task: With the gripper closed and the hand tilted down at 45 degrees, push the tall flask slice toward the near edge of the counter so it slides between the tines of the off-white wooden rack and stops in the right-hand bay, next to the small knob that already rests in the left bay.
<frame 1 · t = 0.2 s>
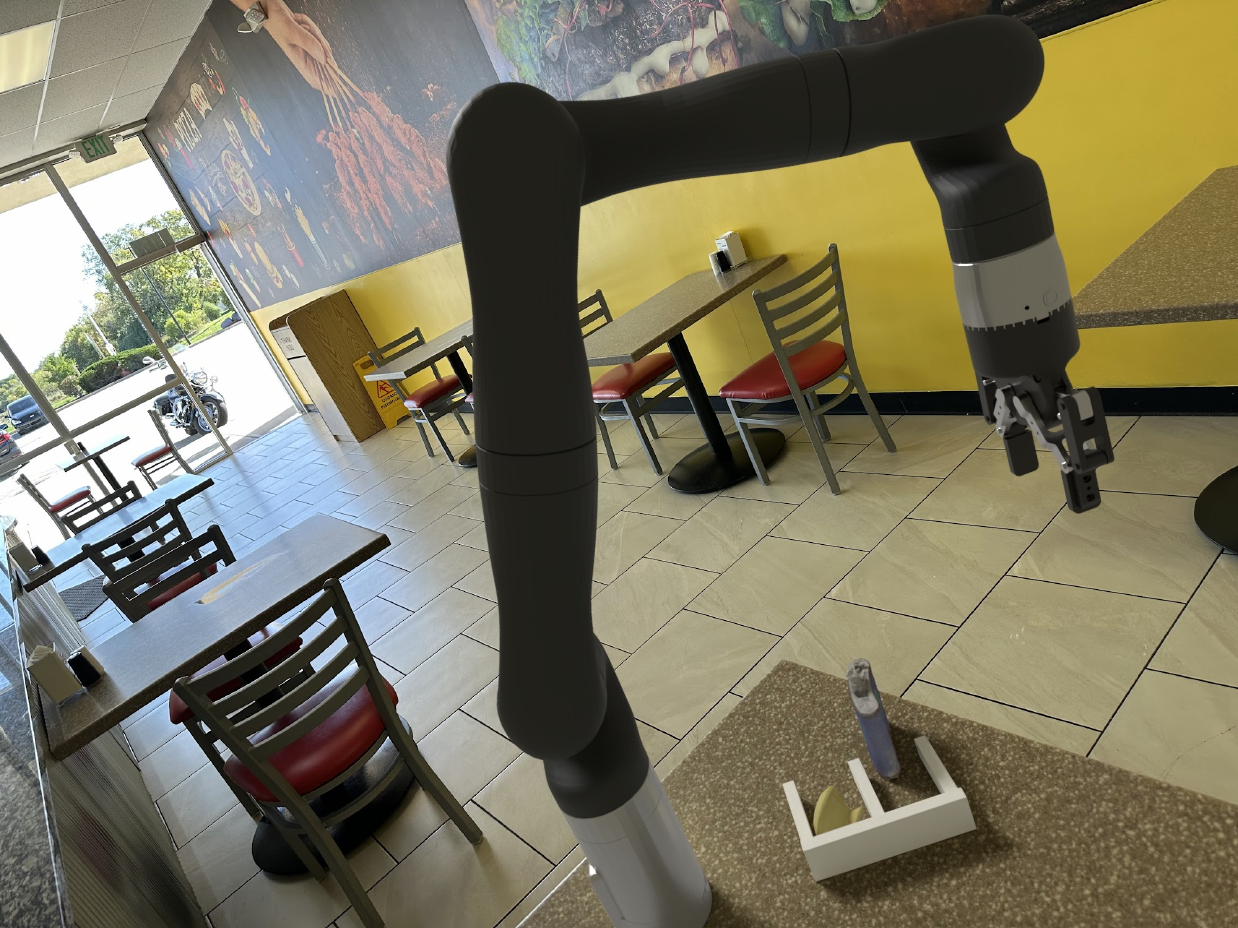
hand: (1053, 489, 65), 29 cm above the table, tool pointing down, fingers open, 8 cm apart
rack: (886, 836, 76), on the table
knob: (845, 834, 78), resting in rack
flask: (883, 750, 86), on the table
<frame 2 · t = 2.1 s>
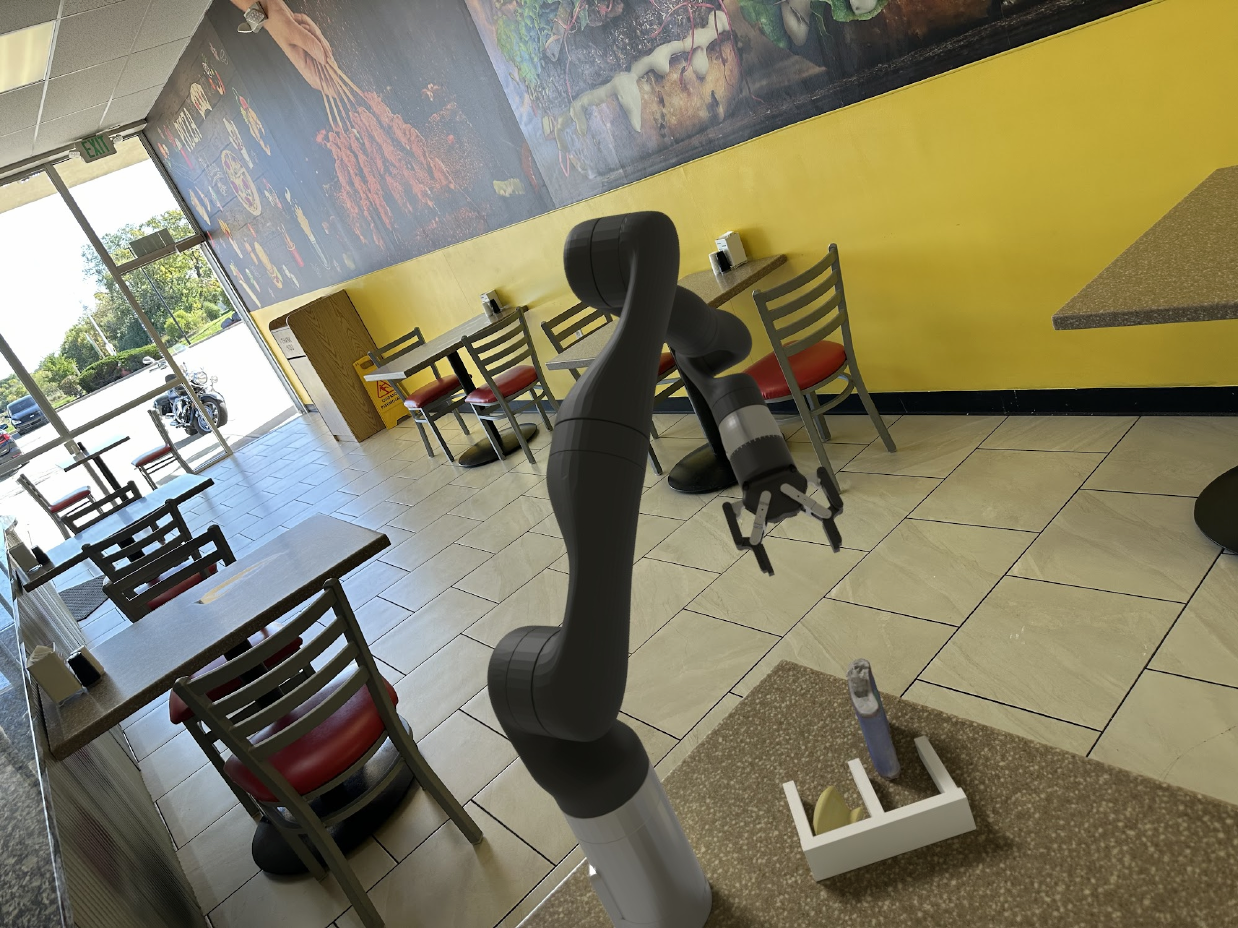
hand: (804, 562, 95), 16 cm above the table, tool tilted 45°, fingers open, 8 cm apart
nothing on the table moved.
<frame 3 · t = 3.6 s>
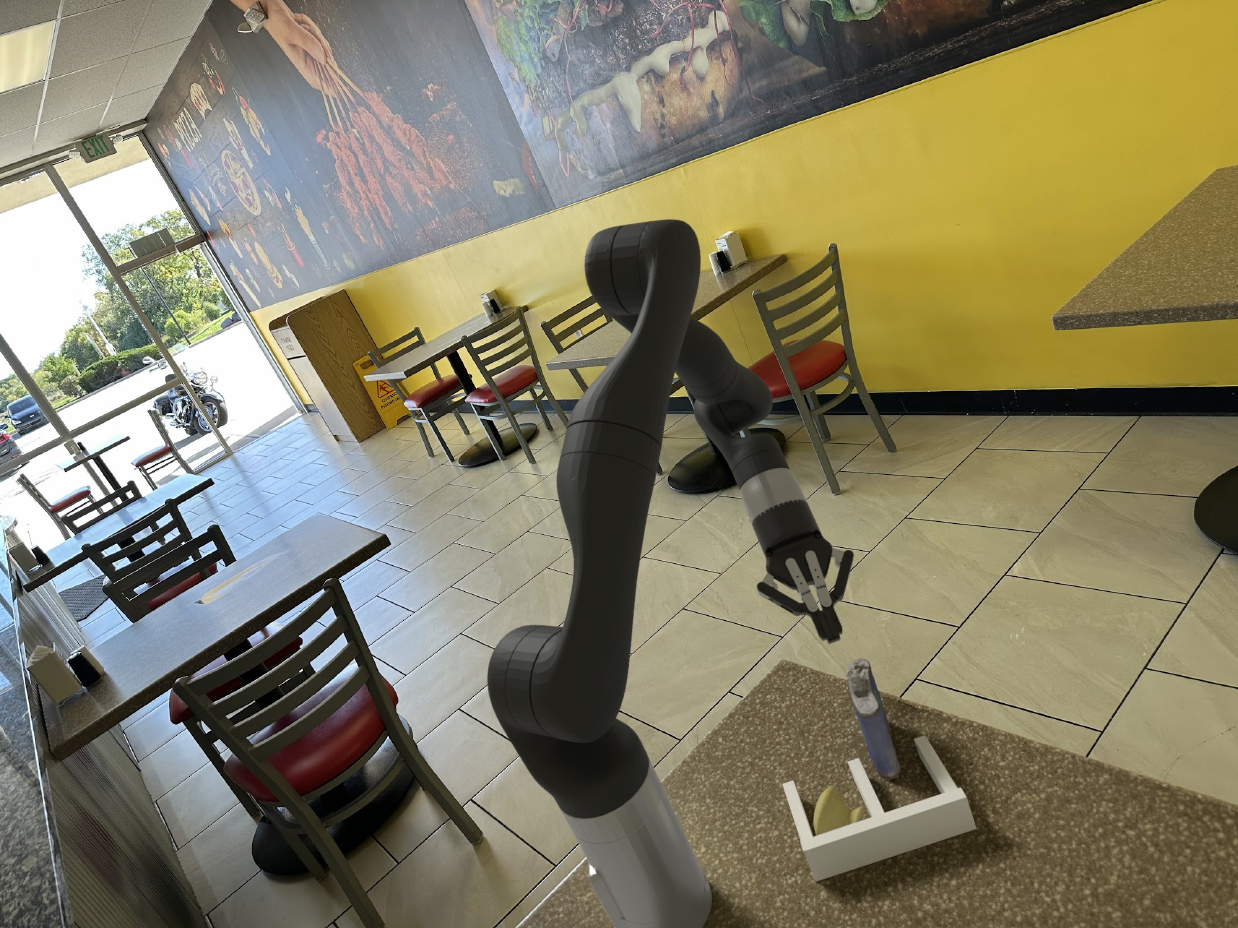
hand: (834, 640, 93), 8 cm above the table, tool tilted 45°, fingers closed
nothing on the table moved.
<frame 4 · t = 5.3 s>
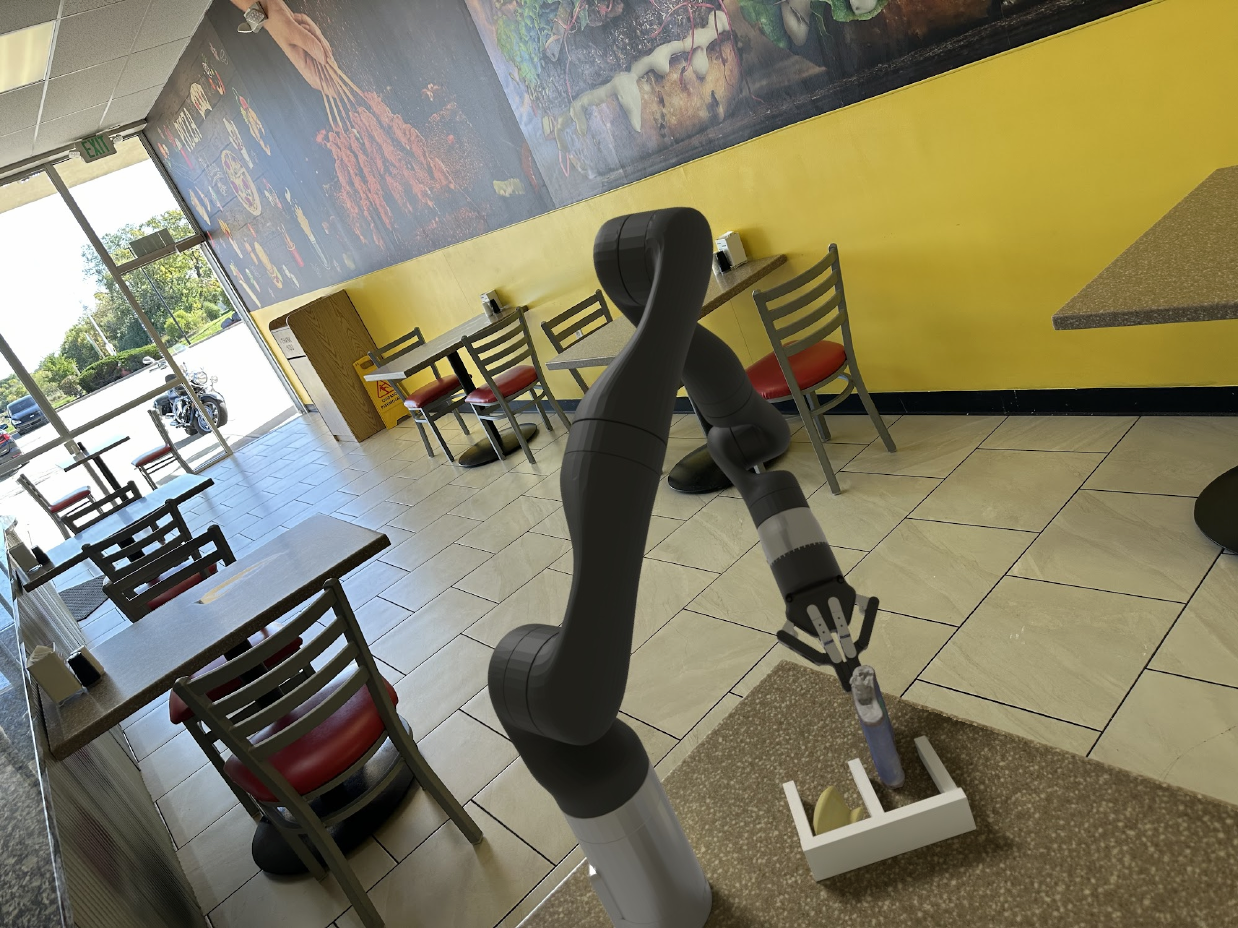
hand: (859, 694, 88), 5 cm above the table, tool tilted 45°, fingers closed
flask: (887, 758, 84), on the table, touching gripper
everything else where it was.
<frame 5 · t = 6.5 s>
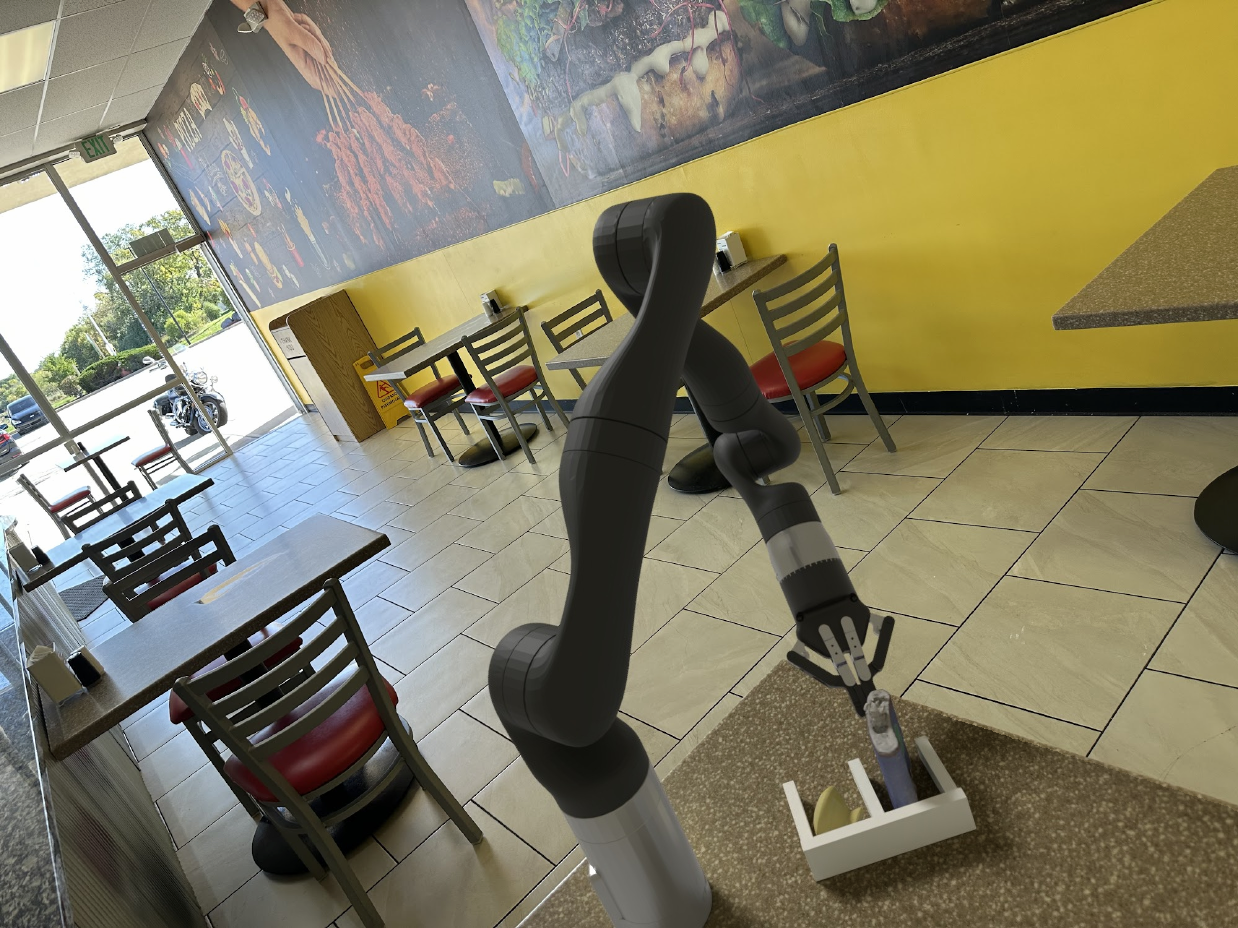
hand: (874, 719, 83), 5 cm above the table, tool tilted 45°, fingers closed
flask: (903, 787, 80), on the table, touching gripper
everything else where it was.
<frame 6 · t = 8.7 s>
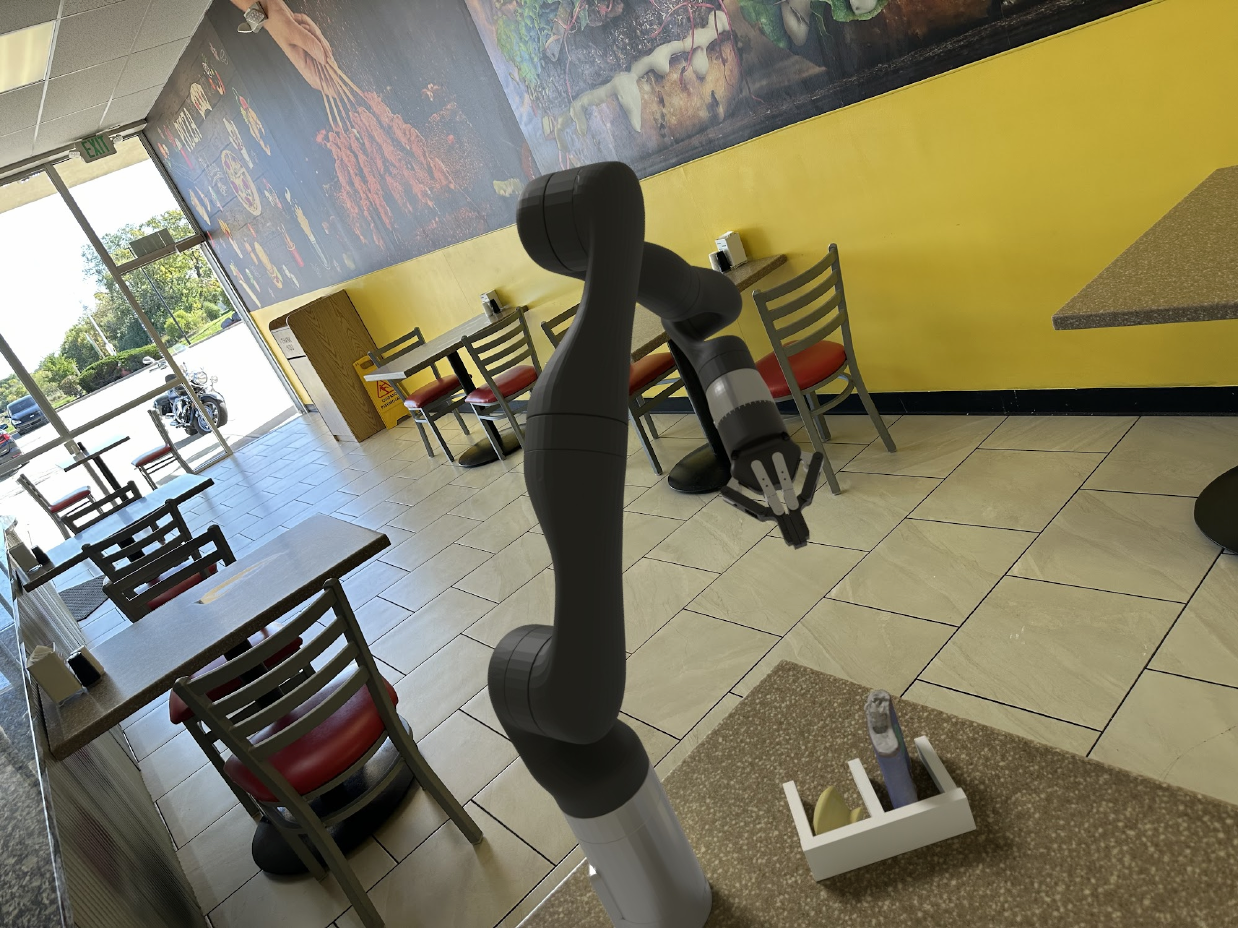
hand: (801, 545, 87), 22 cm above the table, tool tilted 45°, fingers closed
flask: (903, 787, 80), on the table
everything else where it was.
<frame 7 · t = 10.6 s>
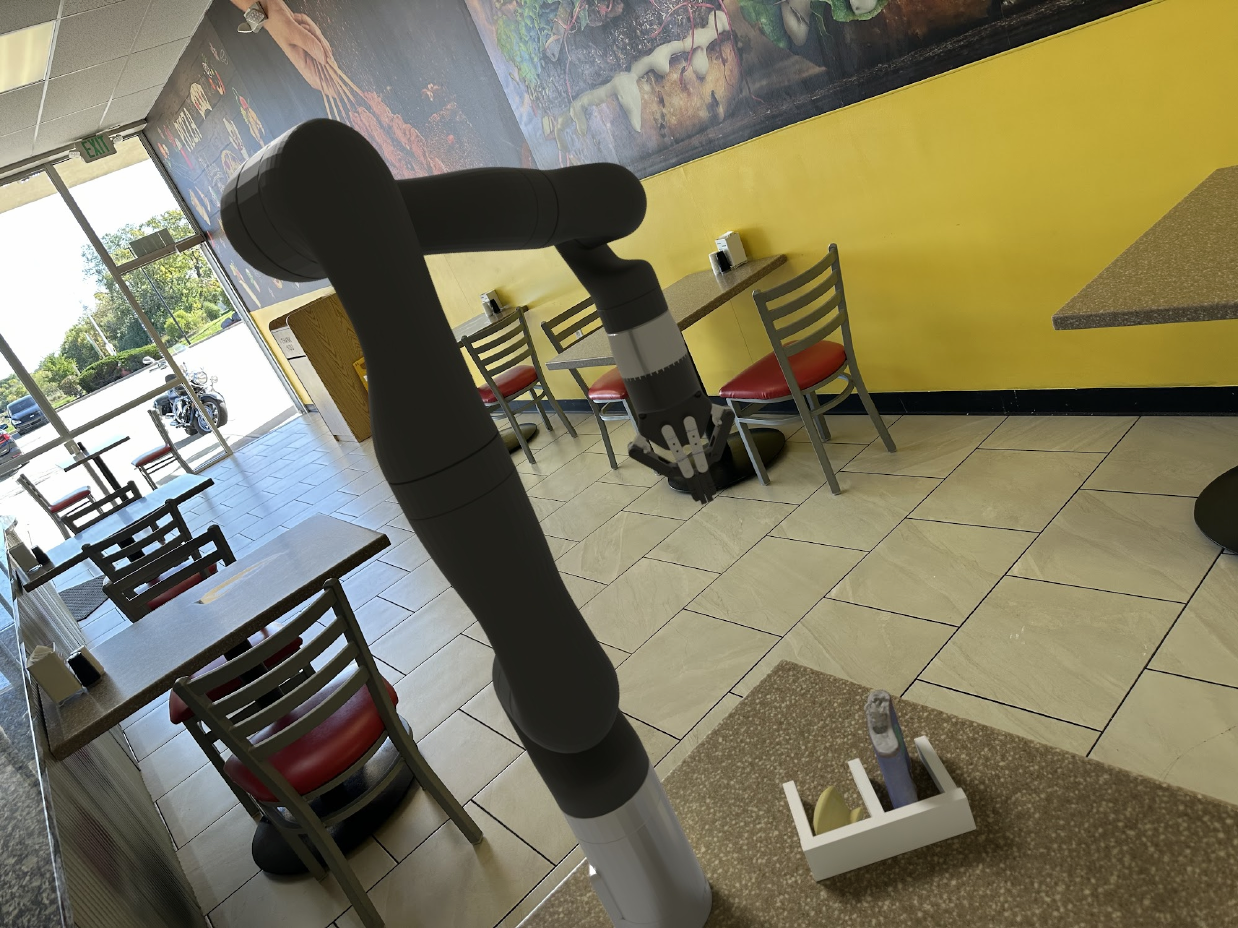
hand: (707, 500, 90), 29 cm above the table, tool pointing down, fingers closed
nothing on the table moved.
at the end: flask 0.3 cm from the target spot, on the table; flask tilted 2°; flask moved 5.7 cm from its start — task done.
